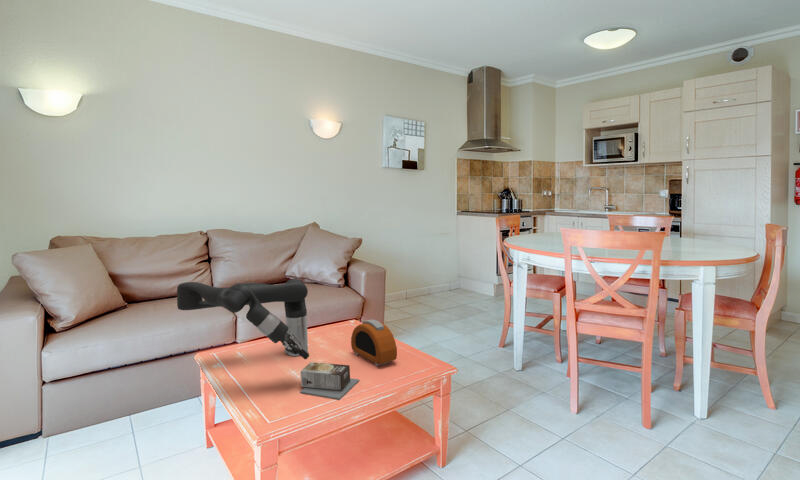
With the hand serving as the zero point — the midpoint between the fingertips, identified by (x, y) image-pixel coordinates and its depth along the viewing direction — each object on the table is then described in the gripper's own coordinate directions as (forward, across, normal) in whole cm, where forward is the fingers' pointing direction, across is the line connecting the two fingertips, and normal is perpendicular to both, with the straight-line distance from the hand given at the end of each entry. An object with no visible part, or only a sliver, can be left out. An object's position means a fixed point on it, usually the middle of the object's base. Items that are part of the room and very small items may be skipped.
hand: (307, 357), depth 164 cm
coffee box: (+4, +1, -5) cm, 6 cm away
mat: (+13, +6, -1) cm, 14 cm away
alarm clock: (+26, -19, +12) cm, 35 cm away
